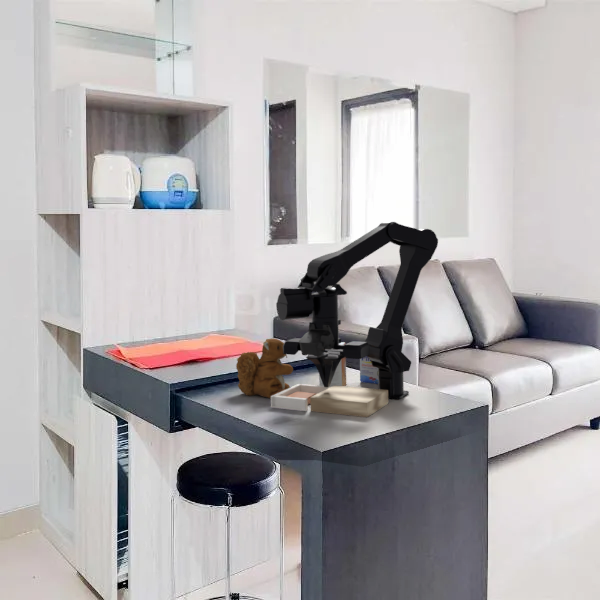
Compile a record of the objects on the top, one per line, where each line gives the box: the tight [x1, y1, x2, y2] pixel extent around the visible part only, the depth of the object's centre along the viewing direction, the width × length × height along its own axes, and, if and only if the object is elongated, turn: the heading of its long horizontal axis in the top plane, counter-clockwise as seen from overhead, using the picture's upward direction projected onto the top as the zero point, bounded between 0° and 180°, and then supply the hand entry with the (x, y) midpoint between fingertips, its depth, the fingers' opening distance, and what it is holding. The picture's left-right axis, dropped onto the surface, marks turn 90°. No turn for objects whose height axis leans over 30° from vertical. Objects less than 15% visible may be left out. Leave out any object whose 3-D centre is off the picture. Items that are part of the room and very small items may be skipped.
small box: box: [318, 341, 347, 387], centre depth 176 cm, size 8×6×10 cm
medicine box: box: [359, 356, 378, 385], centre depth 180 cm, size 8×4×9 cm, turn 56°
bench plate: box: [310, 385, 389, 418], centre depth 157 cm, size 12×13×3 cm
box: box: [270, 383, 330, 412], centre depth 163 cm, size 13×8×2 cm, turn 152°
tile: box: [286, 392, 316, 405], centre depth 163 cm, size 5×5×2 cm
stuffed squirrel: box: [235, 337, 294, 399], centre depth 171 cm, size 10×14×13 cm
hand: (326, 387), depth 159 cm, fingers closed
